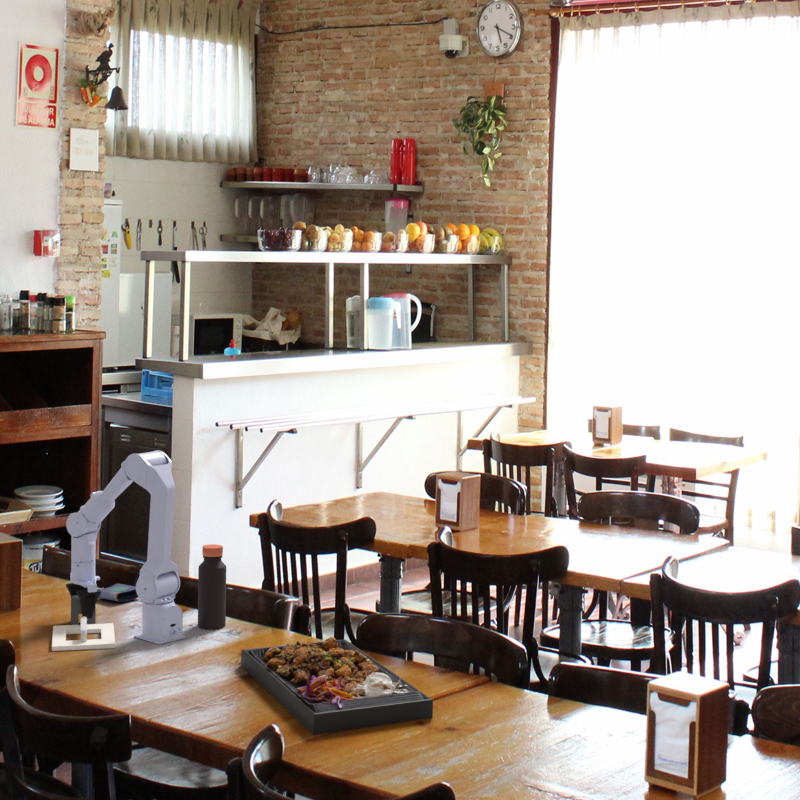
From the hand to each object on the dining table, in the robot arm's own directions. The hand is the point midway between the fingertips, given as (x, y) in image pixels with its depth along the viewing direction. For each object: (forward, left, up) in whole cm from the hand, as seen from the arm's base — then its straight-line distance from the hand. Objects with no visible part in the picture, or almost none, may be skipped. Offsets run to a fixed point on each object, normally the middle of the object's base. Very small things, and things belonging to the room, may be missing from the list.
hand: (83, 615), depth 295 cm
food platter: (-79, -5, -3) cm, 79 cm away
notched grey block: (0, 0, -2) cm, 2 cm away
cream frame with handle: (-12, +8, -2) cm, 14 cm away
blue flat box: (+9, -21, -3) cm, 23 cm away
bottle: (-25, -20, -2) cm, 32 cm away
